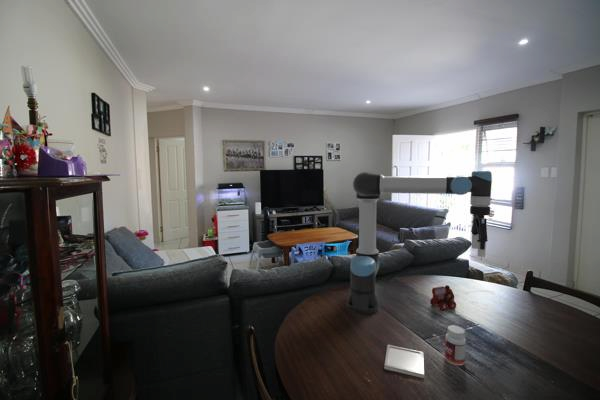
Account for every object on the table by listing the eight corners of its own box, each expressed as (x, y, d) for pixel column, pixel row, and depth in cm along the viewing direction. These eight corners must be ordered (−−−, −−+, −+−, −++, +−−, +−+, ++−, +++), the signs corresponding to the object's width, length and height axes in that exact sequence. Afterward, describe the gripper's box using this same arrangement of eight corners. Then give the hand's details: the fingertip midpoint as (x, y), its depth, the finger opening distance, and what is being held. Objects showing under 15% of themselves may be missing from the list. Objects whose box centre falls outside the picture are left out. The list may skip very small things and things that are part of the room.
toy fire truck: (459, 308, 133) (460, 287, 132) (438, 312, 129) (439, 291, 128) (447, 302, 140) (448, 282, 139) (427, 306, 136) (427, 285, 135)
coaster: (384, 368, 93) (384, 365, 93) (387, 347, 104) (387, 344, 104) (424, 378, 88) (424, 374, 88) (422, 355, 99) (423, 351, 99)
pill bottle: (440, 355, 99) (442, 324, 98) (457, 354, 100) (458, 323, 99) (451, 367, 93) (453, 334, 92) (469, 365, 94) (470, 333, 93)
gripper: (498, 209, 112) (495, 261, 114) (483, 203, 135) (481, 246, 137) (476, 208, 115) (473, 259, 117) (465, 202, 138) (463, 244, 140)
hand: (477, 252), depth 127 cm, fingers open, 13 cm apart
